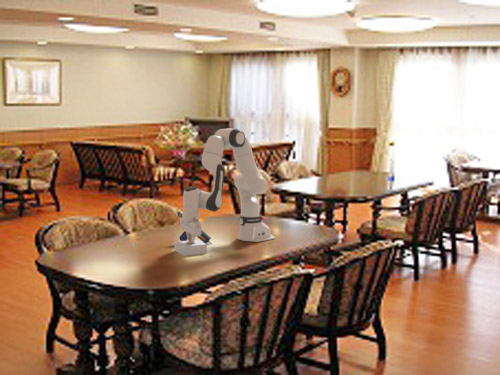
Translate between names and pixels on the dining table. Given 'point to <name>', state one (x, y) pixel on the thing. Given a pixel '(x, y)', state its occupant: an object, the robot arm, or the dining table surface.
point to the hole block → (190, 247)
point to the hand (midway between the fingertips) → (190, 241)
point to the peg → (189, 239)
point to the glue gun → (203, 237)
